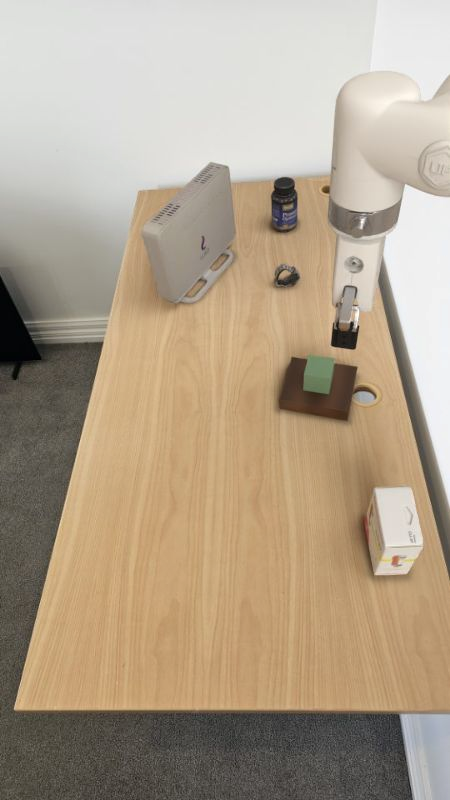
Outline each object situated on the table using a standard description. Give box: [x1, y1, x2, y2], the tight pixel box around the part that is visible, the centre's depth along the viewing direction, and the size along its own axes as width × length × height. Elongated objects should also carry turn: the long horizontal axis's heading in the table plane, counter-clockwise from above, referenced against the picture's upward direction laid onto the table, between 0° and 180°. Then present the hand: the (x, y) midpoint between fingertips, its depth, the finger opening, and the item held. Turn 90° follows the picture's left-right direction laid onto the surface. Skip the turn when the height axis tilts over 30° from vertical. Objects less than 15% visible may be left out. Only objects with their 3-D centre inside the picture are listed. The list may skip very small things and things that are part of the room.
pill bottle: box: [270, 176, 299, 233], centre depth 116 cm, size 6×6×11 cm
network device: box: [141, 161, 237, 304], centre depth 106 cm, size 26×9×20 cm, turn 148°
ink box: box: [363, 485, 424, 576], centre depth 69 cm, size 9×5×12 cm, turn 0°
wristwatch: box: [273, 263, 301, 288], centre depth 107 cm, size 3×5×5 cm
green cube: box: [303, 354, 336, 394], centre depth 87 cm, size 4×4×4 cm
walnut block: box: [279, 356, 358, 422], centre depth 90 cm, size 12×10×3 cm
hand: (349, 320), depth 68 cm, fingers open, 9 cm apart
